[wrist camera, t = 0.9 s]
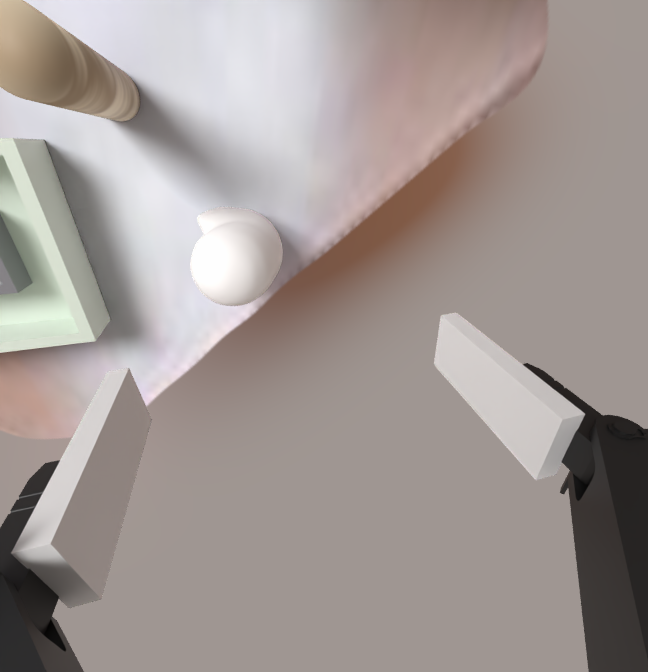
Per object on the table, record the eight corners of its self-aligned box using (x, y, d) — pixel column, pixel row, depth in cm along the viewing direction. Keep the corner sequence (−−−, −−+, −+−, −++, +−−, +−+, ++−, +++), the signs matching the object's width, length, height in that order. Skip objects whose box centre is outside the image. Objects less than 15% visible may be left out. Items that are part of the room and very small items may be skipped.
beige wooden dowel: (80, 64, 25) (-55, -11, 13) (132, 66, 26) (48, -5, 14) (97, 121, 27) (-9, 100, 15) (145, 121, 28) (81, 101, 16)
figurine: (197, 200, 31) (181, 225, 21) (279, 206, 33) (300, 232, 23) (202, 273, 34) (190, 326, 24) (276, 275, 36) (294, 325, 26)
